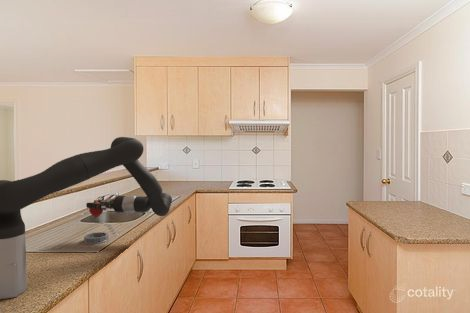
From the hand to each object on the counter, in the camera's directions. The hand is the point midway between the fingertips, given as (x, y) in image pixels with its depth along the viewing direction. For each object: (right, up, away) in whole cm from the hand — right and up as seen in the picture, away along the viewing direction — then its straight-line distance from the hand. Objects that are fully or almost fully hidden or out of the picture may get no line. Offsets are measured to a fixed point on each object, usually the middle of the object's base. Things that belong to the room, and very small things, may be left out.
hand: (90, 203), depth 145 cm
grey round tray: (+2, -17, 0) cm, 17 cm away
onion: (+3, -6, 0) cm, 7 cm away
